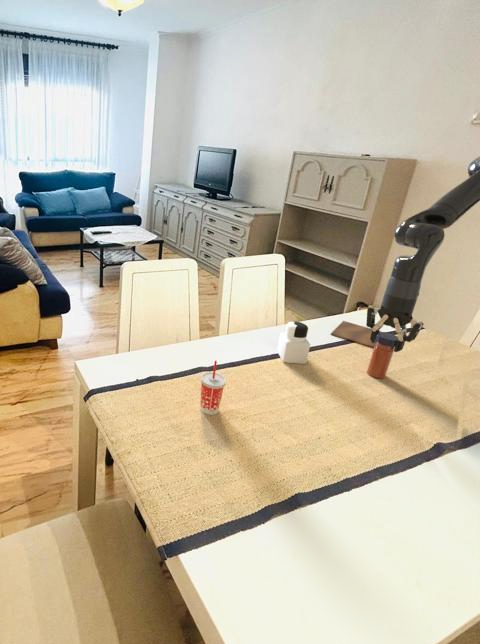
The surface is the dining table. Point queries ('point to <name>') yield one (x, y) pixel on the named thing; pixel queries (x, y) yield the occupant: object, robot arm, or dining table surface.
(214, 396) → the beverage cup
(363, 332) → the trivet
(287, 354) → the medicine bottle
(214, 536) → the dining table surface
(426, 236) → the robot arm
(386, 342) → the lid
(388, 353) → the jar
